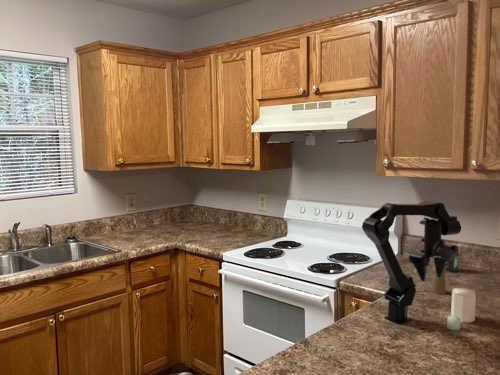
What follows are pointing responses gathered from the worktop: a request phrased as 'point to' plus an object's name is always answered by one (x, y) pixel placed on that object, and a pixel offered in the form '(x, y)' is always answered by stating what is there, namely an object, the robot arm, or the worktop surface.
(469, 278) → the worktop surface
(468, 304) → the tumbler
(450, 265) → the supplement bottle
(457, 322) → the pale green rounded knob
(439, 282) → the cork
